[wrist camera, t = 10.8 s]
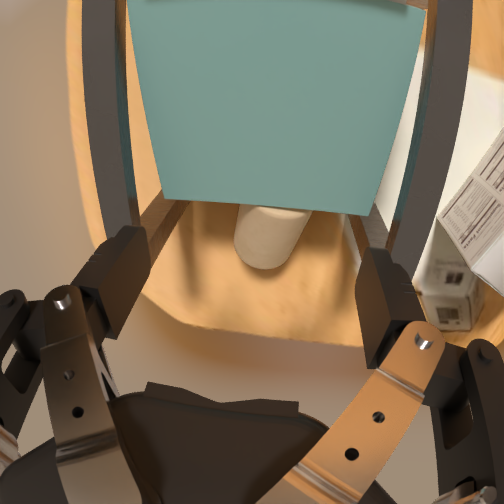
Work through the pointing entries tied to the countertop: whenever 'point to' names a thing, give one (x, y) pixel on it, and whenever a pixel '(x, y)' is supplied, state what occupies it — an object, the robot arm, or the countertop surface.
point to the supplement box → (481, 217)
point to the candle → (268, 234)
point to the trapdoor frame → (364, 227)
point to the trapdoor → (274, 97)
